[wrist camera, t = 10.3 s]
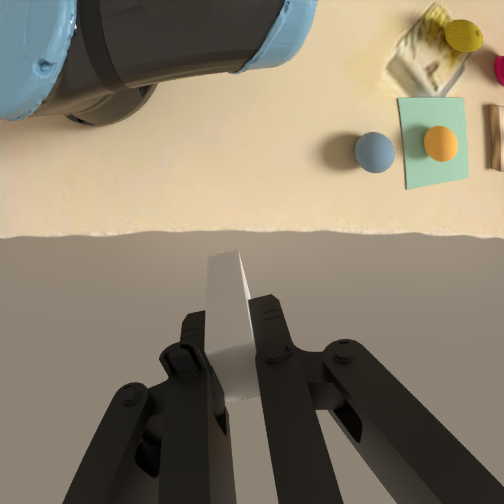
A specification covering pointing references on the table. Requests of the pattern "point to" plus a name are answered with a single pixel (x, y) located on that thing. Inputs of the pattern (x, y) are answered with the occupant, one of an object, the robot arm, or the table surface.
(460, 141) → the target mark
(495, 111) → the bar
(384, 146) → the blue ball
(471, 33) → the lemon
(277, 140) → the table surface
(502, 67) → the pepper mill
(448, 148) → the orange ball
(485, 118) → the table surface
